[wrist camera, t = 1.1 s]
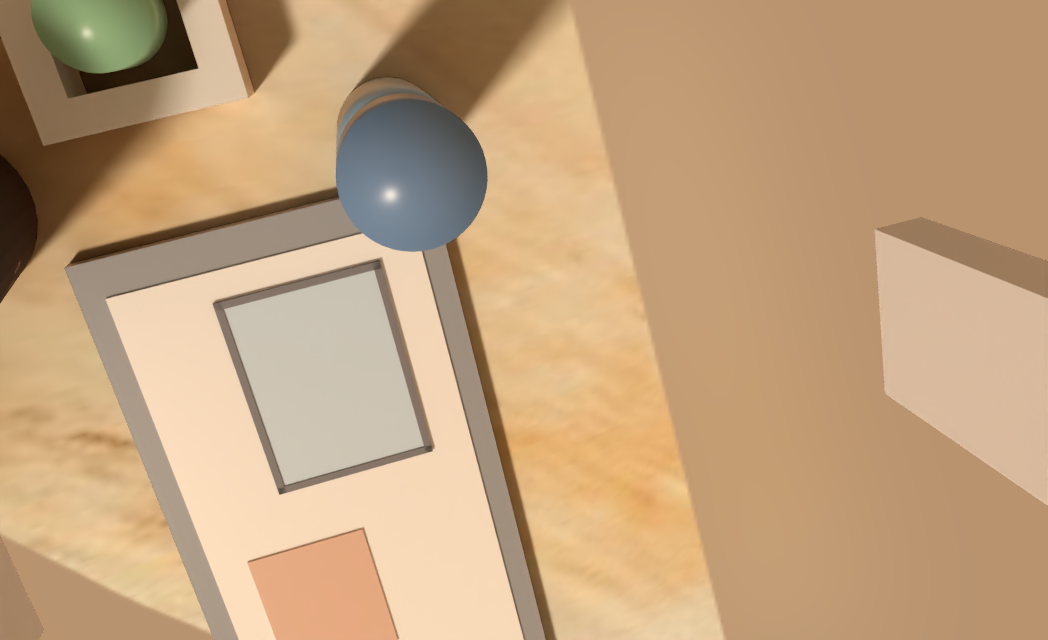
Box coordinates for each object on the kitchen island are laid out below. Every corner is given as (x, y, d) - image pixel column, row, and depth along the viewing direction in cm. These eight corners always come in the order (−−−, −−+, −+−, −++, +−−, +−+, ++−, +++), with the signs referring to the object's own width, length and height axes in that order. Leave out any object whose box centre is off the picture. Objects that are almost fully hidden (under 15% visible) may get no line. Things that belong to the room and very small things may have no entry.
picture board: (68, 264, 35) (62, 269, 34) (427, 174, 36) (429, 177, 36) (262, 747, 43) (261, 761, 42) (549, 656, 44) (553, 668, 44)
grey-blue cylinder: (324, 90, 35) (317, 121, 24) (427, 66, 35) (468, 85, 24) (352, 192, 36) (359, 267, 25) (452, 168, 37) (501, 231, 25)
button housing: (-15, -66, 31) (-43, -74, 29) (192, -109, 32) (180, -120, 30) (63, 137, 33) (43, 145, 31) (254, 93, 34) (248, 97, 32)
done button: (42, -25, 30) (12, -31, 27) (147, -48, 30) (127, -56, 28) (81, 79, 31) (55, 84, 28) (181, 56, 32) (166, 59, 29)
